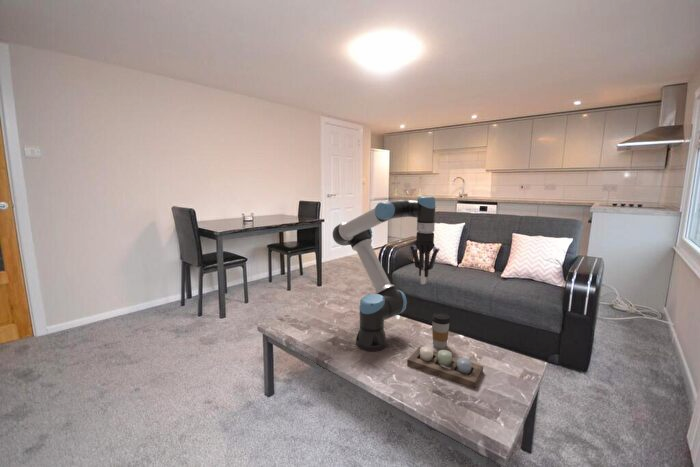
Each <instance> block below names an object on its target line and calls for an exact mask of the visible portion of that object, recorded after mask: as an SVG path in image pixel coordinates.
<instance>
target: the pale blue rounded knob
mask: <svg viewBox="0 0 700 467" xmlns="http://www.w3.org/2000/svg"><path fill="white" fill-rule="evenodd" d="M472 363H473V362H472V360H471V359H468V358H466V357H459V358H458V360H457V370H456V371H457V372H460V373H463V374H466V375H471V365H472Z"/></svg>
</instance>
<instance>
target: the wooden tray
mask: <svg viewBox="0 0 700 467" xmlns="http://www.w3.org/2000/svg"><path fill="white" fill-rule="evenodd" d="M421 347H422V346H418V347H417V348H416V349H415V350H414V352H413V353H412V354H410V356H409V357H408V359H407V360H406V361H407V366H410V367H413V368H415V369H418V370H421V371H425V372H426V373H430V374H433V375H436V376H439V377H442V378H444V379H446V380H449V381H453V382H456V383H458V384H460V385H464V386H467V387H469V388H472V389H476V387H477V384H478V383H479V380H480V378H481V376H482V374H483V370H484V365H480V364H476V363H473V362H472V365H471V373H470V374H468V375H466V374H463V373H460V372H458V371H457V360H458V359H459V358H457V357H454V356H452V362H451V365H449V366H450V368H448V367H446V366H443V365H440V364H439V363H438V352H439V351H435V350H433V360H432V361H431V362H427V361H424V360H421V359H420V348H421Z"/></svg>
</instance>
